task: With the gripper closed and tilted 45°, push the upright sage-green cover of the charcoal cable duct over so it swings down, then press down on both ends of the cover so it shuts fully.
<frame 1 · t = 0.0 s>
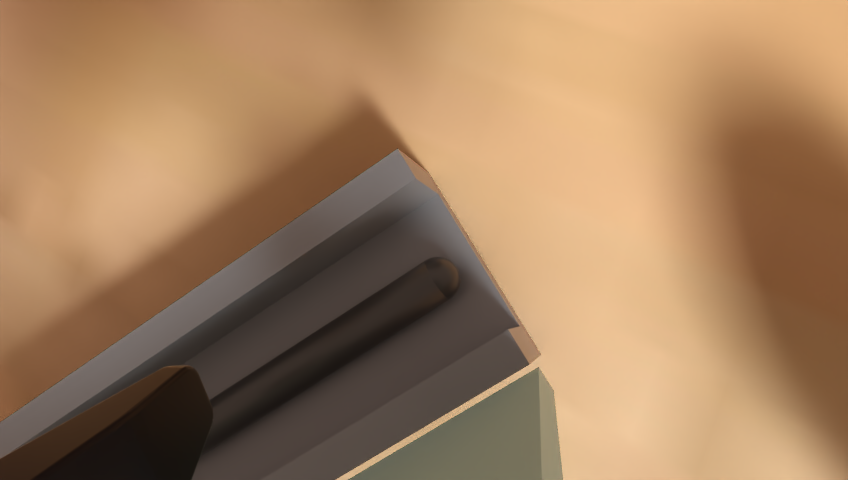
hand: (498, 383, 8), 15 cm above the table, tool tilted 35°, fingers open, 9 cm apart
cable duct: (252, 406, 26), on the table
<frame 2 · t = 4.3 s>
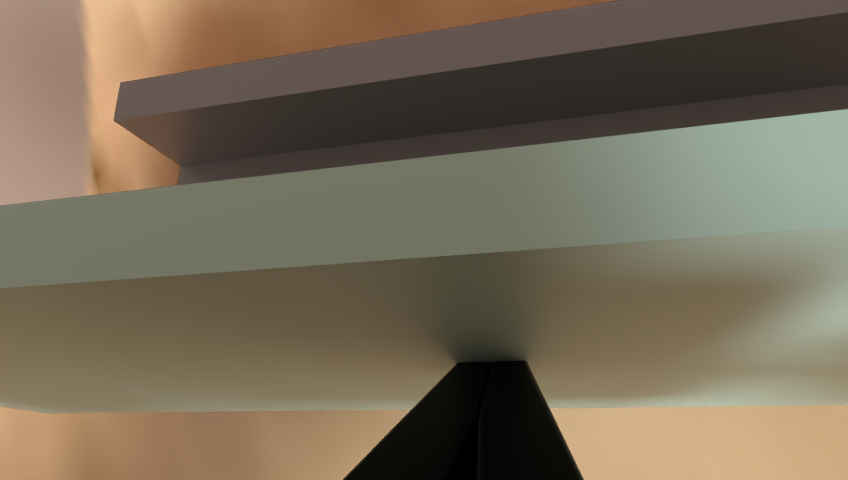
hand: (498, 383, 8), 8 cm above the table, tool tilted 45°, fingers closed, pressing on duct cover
duct cover: (485, 288, 8), point 9 cm above the table, hinge at 86.7°, touching gripper
cable duct: (536, 231, 18), on the table
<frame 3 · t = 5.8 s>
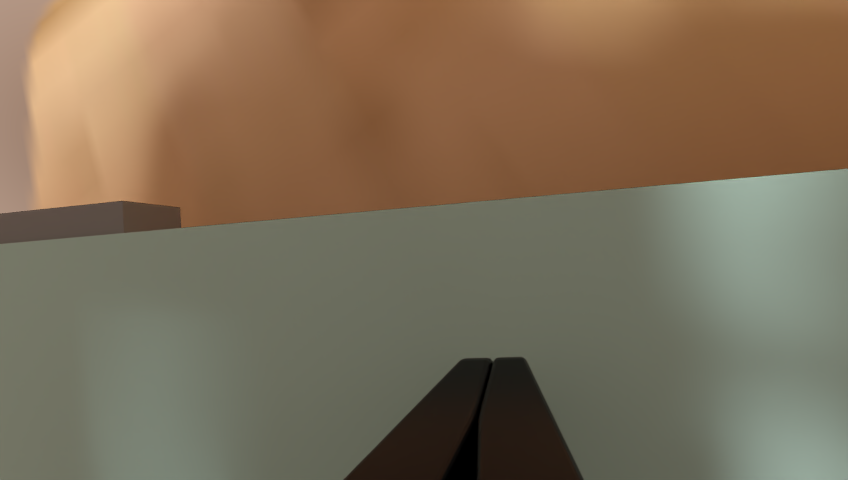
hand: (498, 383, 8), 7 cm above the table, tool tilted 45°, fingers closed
duct cover: (518, 459, 10), point 5 cm above the table, hinge at 16.6°
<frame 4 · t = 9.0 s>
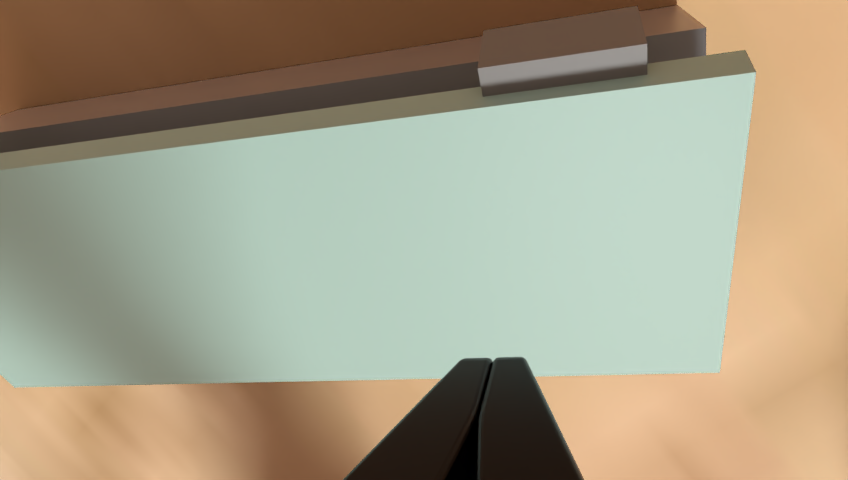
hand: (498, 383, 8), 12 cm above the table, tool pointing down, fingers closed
duct cover: (266, 248, 17), point 5 cm above the table, hinge at 16.6°
cable duct: (331, 184, 22), on the table
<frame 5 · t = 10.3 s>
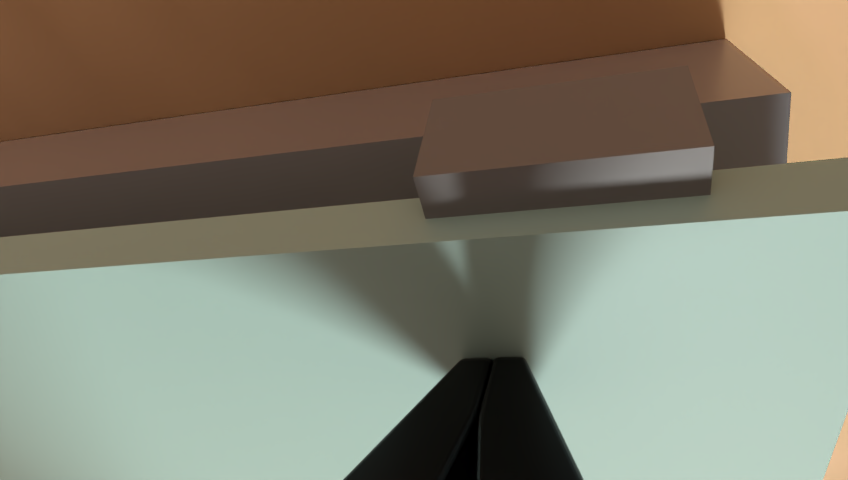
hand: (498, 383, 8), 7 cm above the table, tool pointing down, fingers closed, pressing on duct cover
duct cover: (141, 385, 12), point 5 cm above the table, hinge at 15.9°, touching gripper
cable duct: (260, 262, 16), on the table
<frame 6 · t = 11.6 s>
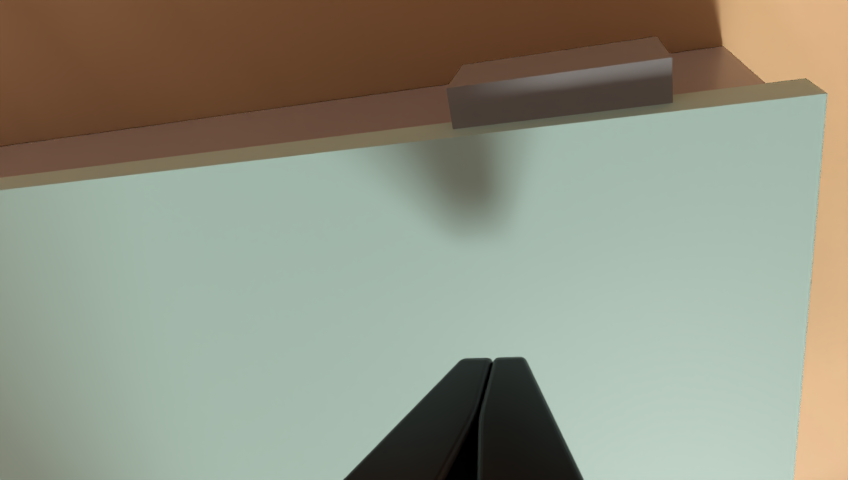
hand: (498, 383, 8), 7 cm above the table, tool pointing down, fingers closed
duct cover: (179, 343, 13), point 4 cm above the table, hinge at -0.3°
cable duct: (262, 266, 17), on the table
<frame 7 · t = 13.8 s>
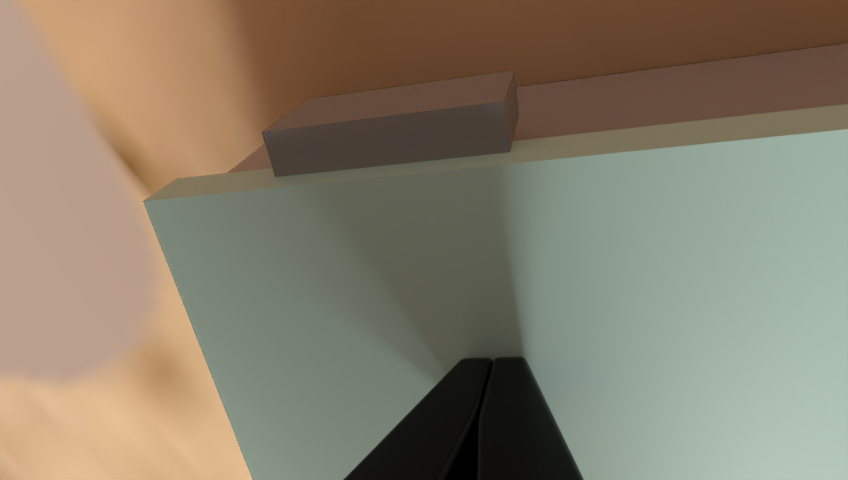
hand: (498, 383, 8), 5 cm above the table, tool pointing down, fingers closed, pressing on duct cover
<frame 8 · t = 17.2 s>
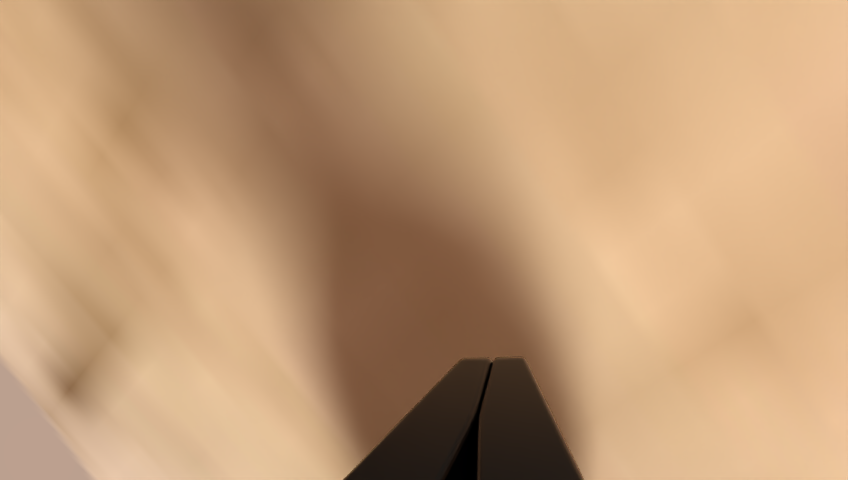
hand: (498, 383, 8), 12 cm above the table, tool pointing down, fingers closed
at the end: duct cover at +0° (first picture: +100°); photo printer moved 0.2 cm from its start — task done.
